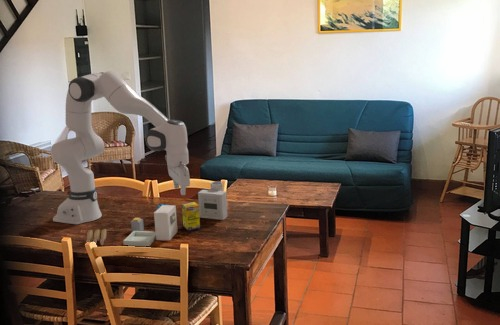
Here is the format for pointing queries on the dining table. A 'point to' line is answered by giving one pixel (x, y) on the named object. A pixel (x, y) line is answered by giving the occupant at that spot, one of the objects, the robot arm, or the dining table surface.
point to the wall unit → (165, 222)
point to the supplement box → (191, 216)
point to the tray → (140, 238)
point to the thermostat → (213, 202)
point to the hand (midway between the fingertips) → (179, 191)
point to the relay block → (137, 224)
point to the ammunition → (96, 236)
